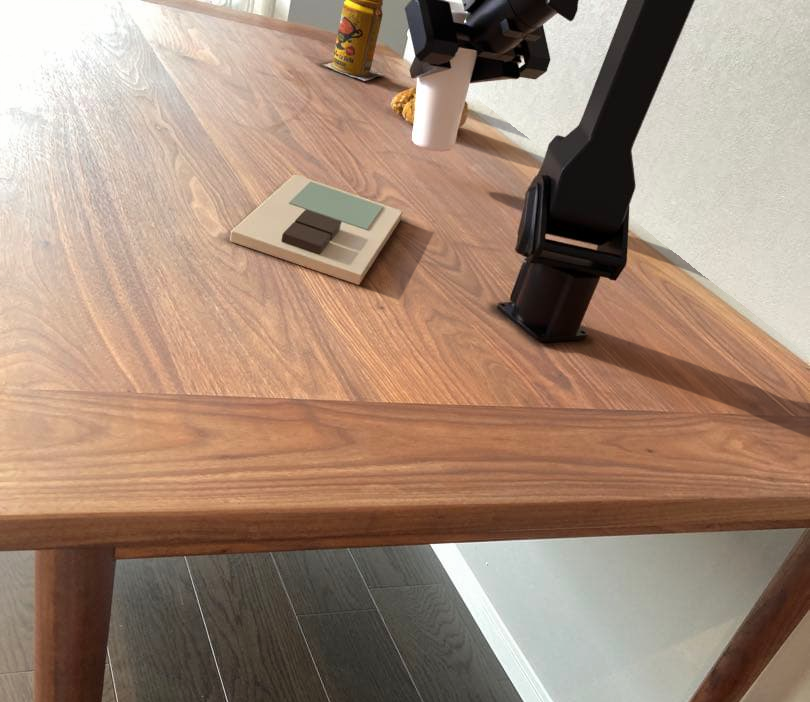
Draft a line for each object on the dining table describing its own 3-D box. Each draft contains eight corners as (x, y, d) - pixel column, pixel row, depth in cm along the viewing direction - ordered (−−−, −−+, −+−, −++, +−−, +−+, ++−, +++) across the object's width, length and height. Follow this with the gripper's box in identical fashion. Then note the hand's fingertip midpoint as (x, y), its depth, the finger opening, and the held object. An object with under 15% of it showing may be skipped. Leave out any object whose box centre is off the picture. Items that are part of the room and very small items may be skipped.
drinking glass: (451, 159, 108) (477, 16, 99) (397, 145, 109) (417, 3, 100) (466, 146, 114) (491, 9, 104) (414, 133, 115) (434, -4, 105)
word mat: (358, 285, 81) (363, 266, 80) (229, 241, 81) (232, 221, 80) (400, 220, 97) (405, 203, 96) (292, 183, 97) (296, 166, 96)
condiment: (321, 65, 141) (338, -22, 134) (342, 60, 148) (360, -23, 141) (363, 82, 140) (383, -5, 133) (383, 76, 147) (403, -7, 140)
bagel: (401, 104, 136) (410, 70, 133) (469, 131, 135) (480, 97, 132) (378, 114, 128) (387, 78, 125) (450, 142, 127) (461, 106, 124)
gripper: (570, -59, 101) (477, 21, 113) (442, -97, 89) (354, -4, 102) (591, 41, 101) (496, 110, 113) (466, 16, 90) (376, 95, 102)
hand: (434, 77), depth 108 cm, fingers closed on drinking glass, 6 cm apart
